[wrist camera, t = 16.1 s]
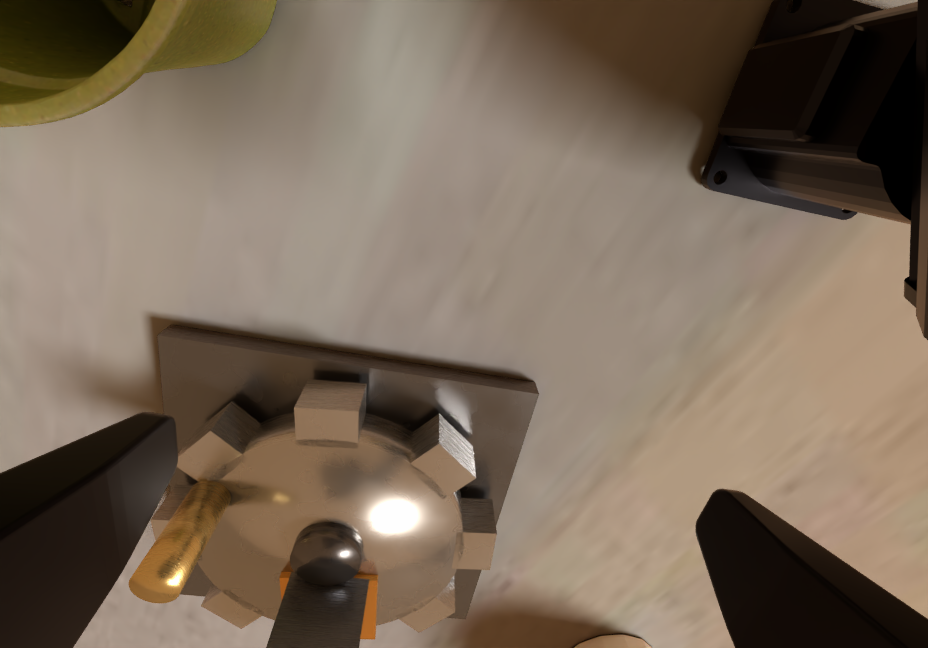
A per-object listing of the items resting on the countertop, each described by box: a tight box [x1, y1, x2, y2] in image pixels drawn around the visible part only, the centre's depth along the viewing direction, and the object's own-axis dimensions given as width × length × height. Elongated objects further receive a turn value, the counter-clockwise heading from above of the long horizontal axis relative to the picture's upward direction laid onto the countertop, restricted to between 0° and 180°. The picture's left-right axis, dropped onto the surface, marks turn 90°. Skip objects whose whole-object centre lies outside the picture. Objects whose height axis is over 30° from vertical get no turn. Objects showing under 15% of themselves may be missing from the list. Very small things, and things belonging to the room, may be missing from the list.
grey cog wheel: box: [129, 379, 497, 639], centre depth 19 cm, size 15×15×6 cm
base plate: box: [157, 325, 539, 619], centre depth 23 cm, size 16×16×1 cm
